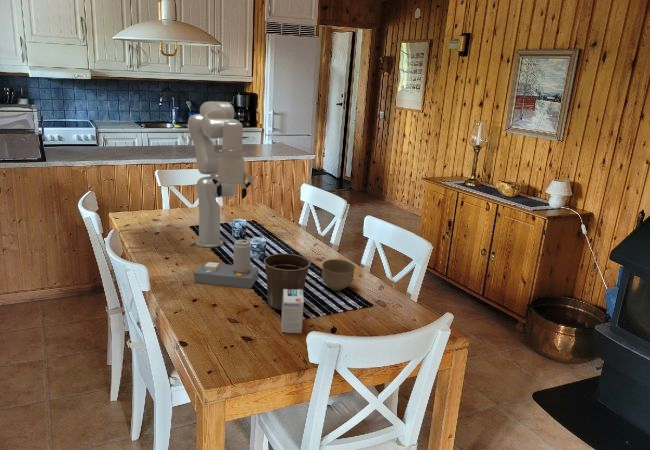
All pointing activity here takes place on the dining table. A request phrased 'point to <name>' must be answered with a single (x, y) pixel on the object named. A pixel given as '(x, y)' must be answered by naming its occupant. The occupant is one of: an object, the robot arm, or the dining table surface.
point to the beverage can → (241, 256)
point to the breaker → (212, 266)
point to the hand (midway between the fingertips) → (231, 196)
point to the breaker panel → (226, 276)
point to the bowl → (337, 273)
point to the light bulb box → (292, 311)
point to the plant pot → (284, 276)
